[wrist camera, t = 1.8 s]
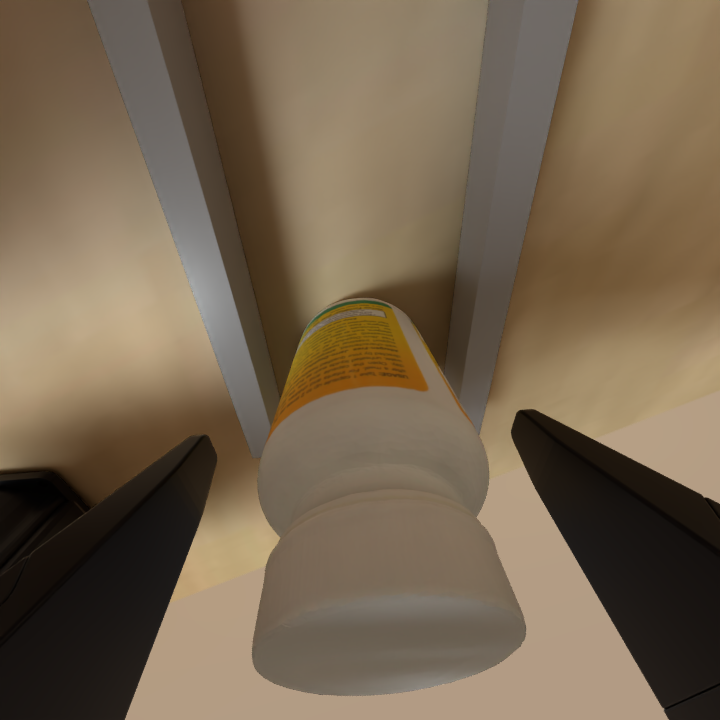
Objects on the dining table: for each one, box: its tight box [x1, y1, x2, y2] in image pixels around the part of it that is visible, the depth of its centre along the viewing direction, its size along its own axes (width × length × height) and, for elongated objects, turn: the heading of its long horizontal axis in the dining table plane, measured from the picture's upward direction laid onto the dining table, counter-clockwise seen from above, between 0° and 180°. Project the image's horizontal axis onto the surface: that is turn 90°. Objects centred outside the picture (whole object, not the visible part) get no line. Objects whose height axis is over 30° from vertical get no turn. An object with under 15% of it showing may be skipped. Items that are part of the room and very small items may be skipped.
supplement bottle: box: [252, 298, 526, 696], centre depth 8 cm, size 5×5×10 cm
